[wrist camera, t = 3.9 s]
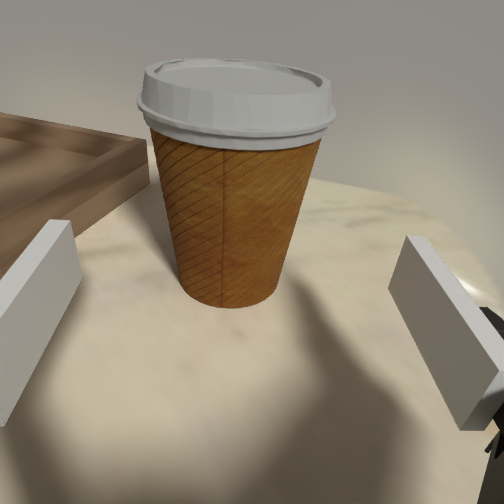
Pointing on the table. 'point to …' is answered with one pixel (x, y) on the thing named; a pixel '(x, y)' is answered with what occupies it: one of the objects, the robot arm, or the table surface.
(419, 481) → the table surface
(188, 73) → the disposable coffee cup
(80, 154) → the shallow wooden crate
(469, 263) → the table surface
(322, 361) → the table surface
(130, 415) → the table surface
